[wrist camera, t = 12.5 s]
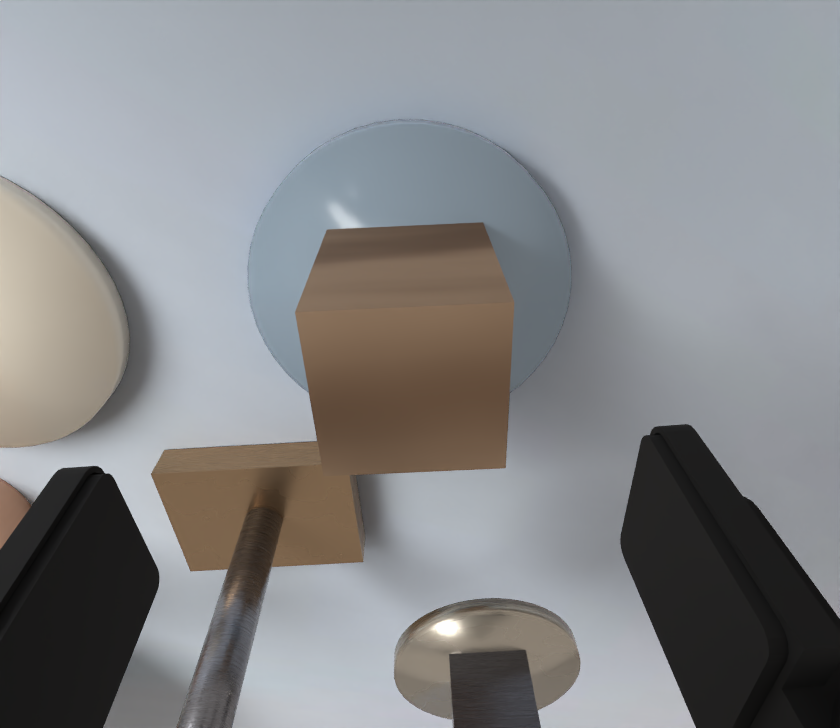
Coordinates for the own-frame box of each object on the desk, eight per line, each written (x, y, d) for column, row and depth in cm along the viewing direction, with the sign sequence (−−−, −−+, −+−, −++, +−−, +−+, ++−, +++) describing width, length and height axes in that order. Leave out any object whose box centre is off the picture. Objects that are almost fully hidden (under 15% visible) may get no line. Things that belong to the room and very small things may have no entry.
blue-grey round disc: (222, 130, 17) (211, 137, 16) (576, 108, 17) (587, 114, 16) (285, 414, 23) (280, 432, 22) (551, 399, 23) (558, 417, 22)
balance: (41, 553, 27) (-325, 1083, 14) (-16, 459, 24) (-565, 1027, 10) (526, 527, 27) (649, 1039, 13) (532, 429, 24) (701, 967, 10)
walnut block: (326, 229, 18) (294, 312, 13) (482, 221, 18) (514, 301, 13) (344, 362, 20) (323, 476, 15) (480, 356, 20) (505, 468, 15)
